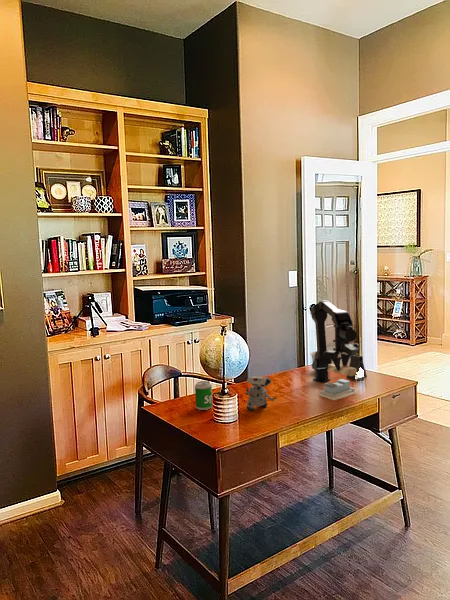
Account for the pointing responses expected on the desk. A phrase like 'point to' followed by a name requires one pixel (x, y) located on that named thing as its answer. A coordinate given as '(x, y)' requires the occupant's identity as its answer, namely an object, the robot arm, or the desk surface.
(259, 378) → the figurine
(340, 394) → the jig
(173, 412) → the desk surface
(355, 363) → the phone stand
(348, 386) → the light blue block
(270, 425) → the desk surface
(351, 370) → the tan rectangular bar
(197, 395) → the soda can
